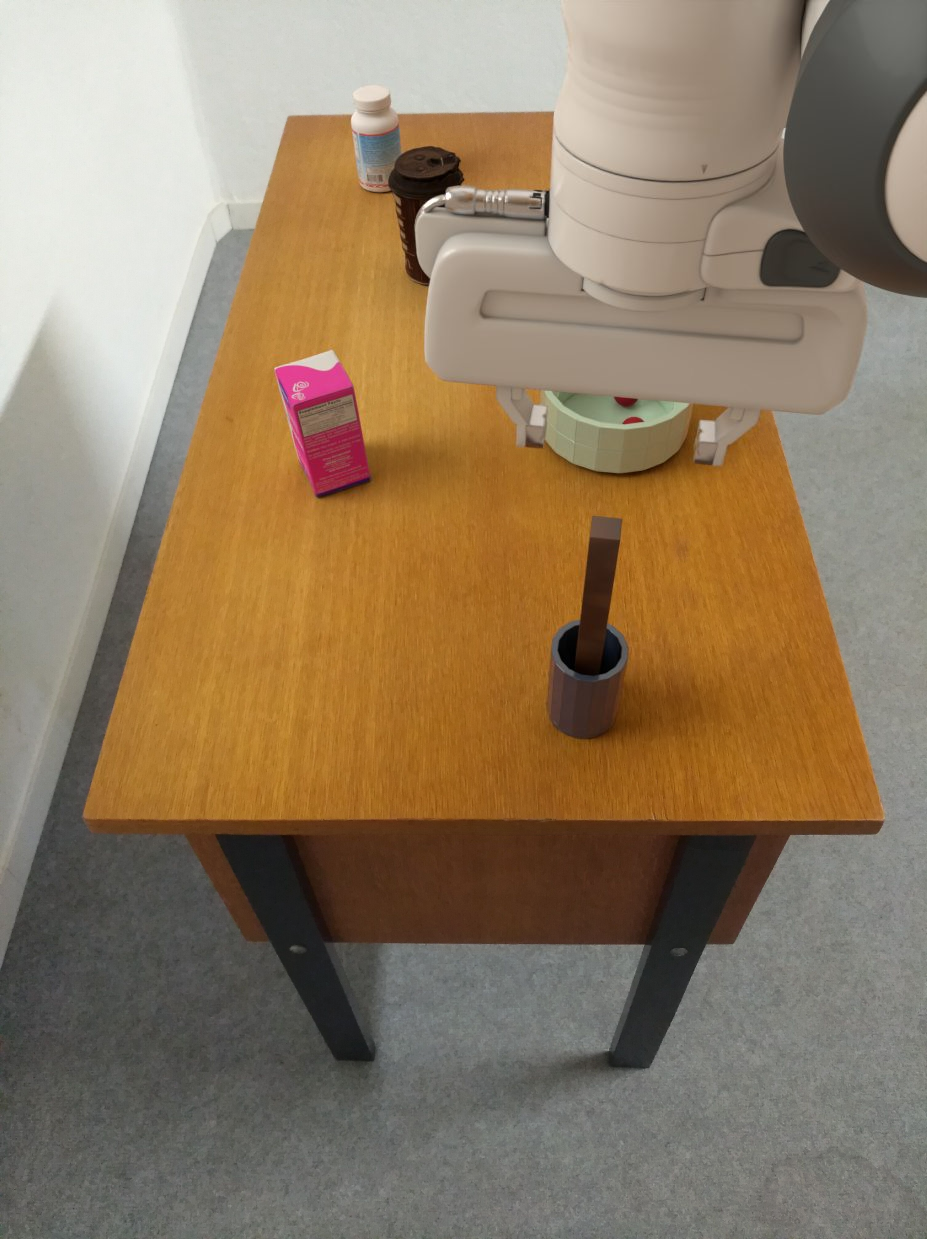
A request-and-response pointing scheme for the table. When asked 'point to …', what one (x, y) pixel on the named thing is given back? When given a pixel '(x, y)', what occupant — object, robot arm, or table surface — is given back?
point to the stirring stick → (597, 593)
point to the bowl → (614, 430)
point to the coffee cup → (420, 193)
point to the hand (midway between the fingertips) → (618, 448)
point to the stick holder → (585, 684)
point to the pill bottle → (375, 136)
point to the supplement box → (324, 422)
